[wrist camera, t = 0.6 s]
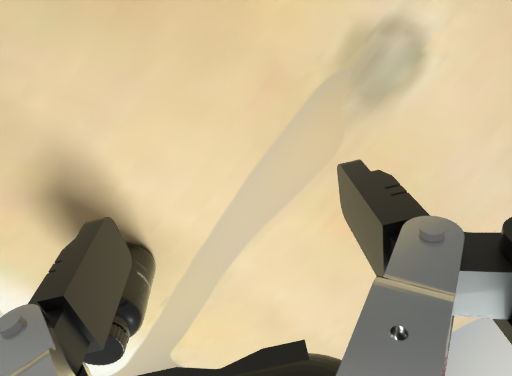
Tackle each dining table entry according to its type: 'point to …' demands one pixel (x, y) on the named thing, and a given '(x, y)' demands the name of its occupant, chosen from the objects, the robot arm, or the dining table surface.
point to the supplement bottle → (128, 308)
